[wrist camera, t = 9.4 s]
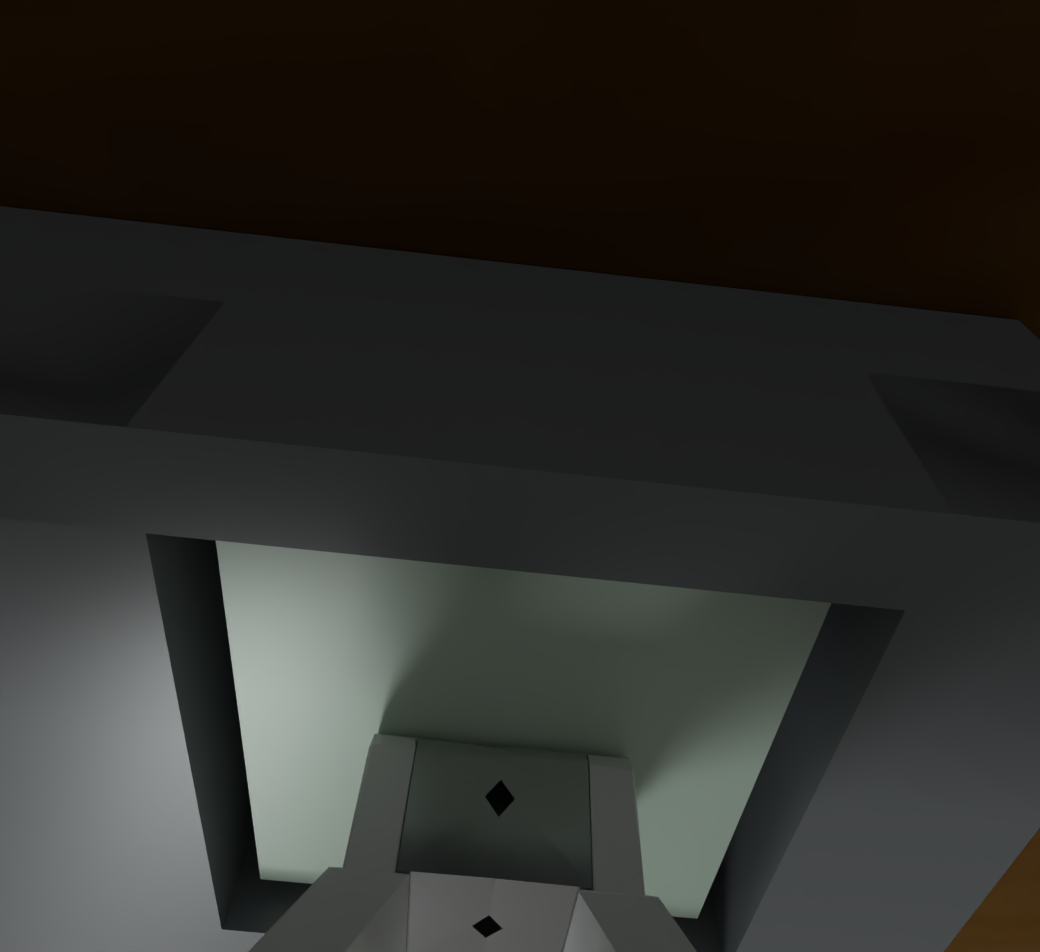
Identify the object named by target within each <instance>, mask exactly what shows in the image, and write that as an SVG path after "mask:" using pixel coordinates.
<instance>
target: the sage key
mask: <svg viewBox="0 0 1040 952" xmlns="http://www.w3.org/2000/svg"><path fill="white" fill-rule="evenodd" d="M216 547H217V555H218V562H219V570H220V577H221V585H222V592H223V600H224V608H225V615H226V623H227V630H228V638H229V645H230V653H231V660H232V668H233V676H234V683H235V691H236V698H237V706H238V713H239V721H240V728H241V736H242V744H243V751H244V759H245V766H246V774H247V781H248V789H249V796H250V804H251V812H252V819H253V827H254V834H255V842H256V849H257V857H258V864H259V872H260V879H264V880H275V881H286V882H298V883H309V884H313V883H314V882H315V881H316V880H317V879H318V878H319V877H320V876H321V875H322V873H323V872H324V871H325V870H326V869H327V868H328V867H343V862H344V858H345V853H346V849H347V844H348V840H349V835H350V831H351V826H352V822H353V817H354V813H355V808H356V804H357V799H358V795H359V790H360V786H361V781H362V777H363V772H364V768H365V763H366V759H367V754H368V749H369V746H370V743H371V741H372V739H373V736H374V734H385V735H394V736H404V737H414V738H418V739H419V738H422V739H430V740H438V741H447V742H455V743H463V744H471V745H480V746H488V747H496V748H502V746H503V747H516V748H528V749H541V750H553V751H565V752H578V753H585V755H598V756H610V757H622V758H629V759H630V761H631V763H632V765H633V768H634V779H635V790H636V801H637V811H638V822H639V833H640V844H641V855H642V866H643V877H644V888H645V895H649V896H656V897H659V898H660V900H661V901H662V903H663V904H664V906H665V907H666V908H667V910H668V911H669V913H670V914H671V916H674V917H685V918H696V919H697V918H698V916H699V914H700V911H701V909H702V907H703V904H704V902H705V900H706V897H707V895H708V892H709V890H710V888H711V885H712V883H713V881H714V878H715V876H716V874H717V871H718V869H719V867H720V864H721V862H722V860H723V857H724V855H725V852H726V850H727V848H728V845H729V843H730V841H731V838H732V836H733V834H734V831H735V829H736V827H737V824H738V822H739V819H740V817H741V815H742V812H743V810H744V808H745V805H746V803H747V801H748V798H749V796H750V794H751V791H752V789H753V787H754V784H755V782H756V779H757V777H758V775H759V772H760V770H761V768H762V765H763V763H764V761H765V758H766V756H767V754H768V751H769V749H770V747H771V744H772V742H773V739H774V737H775V735H776V732H777V730H778V728H779V725H780V723H781V721H782V718H783V716H784V714H785V711H786V709H787V706H788V704H789V702H790V699H791V697H792V695H793V692H794V690H795V688H796V685H797V683H798V681H799V678H800V676H801V674H802V671H803V669H804V666H805V664H806V662H807V659H808V657H809V655H810V652H811V650H812V648H813V645H814V643H815V641H816V638H817V636H818V634H819V631H820V629H821V626H822V624H823V622H824V619H825V617H826V615H827V612H828V610H829V608H830V605H831V603H827V602H817V601H807V600H797V599H787V598H778V597H768V596H758V595H748V594H738V593H728V592H718V591H709V590H699V589H689V588H679V587H669V586H659V585H649V584H640V583H630V582H620V581H610V580H600V579H590V578H580V577H571V576H561V575H551V574H541V573H531V572H521V571H511V570H502V569H492V568H482V567H472V566H462V565H452V564H442V563H433V562H423V561H413V560H403V559H393V558H383V557H373V556H364V555H354V554H344V553H334V552H324V551H314V550H304V549H295V548H285V547H275V546H265V545H255V544H245V543H235V542H226V541H216Z"/></svg>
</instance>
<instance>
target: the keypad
mask: <svg viewBox="0 0 1040 952" xmlns="http://www.w3.org/2000/svg"><path fill="white" fill-rule="evenodd" d="M216 541H226V542H235V543H245V544H255V545H265V546H275V547H285V548H295V549H304V550H314V551H324V552H334V553H344V554H354V555H364V556H373V557H383V558H393V559H403V560H413V561H423V562H433V563H442V564H452V565H462V566H472V567H482V568H492V569H502V570H511V571H521V572H531V573H541V574H551V575H561V576H571V577H580V578H590V579H600V580H610V581H620V582H630V583H640V584H649V585H659V586H669V587H679V588H689V589H699V590H709V591H718V592H728V593H738V594H748V595H758V596H768V597H778V598H787V599H797V600H807V601H817V602H827V603H831V605H830V608H829V610H828V612H827V615H826V617H825V619H824V622H823V624H822V626H821V629H820V631H819V634H818V636H817V638H816V641H815V643H814V645H813V648H812V650H811V652H810V655H809V657H808V659H807V662H806V664H805V666H804V669H803V671H802V674H801V676H800V678H799V681H798V683H797V685H796V688H795V690H794V692H793V695H792V697H791V699H790V702H789V704H788V706H787V709H786V711H785V714H784V716H783V718H782V721H781V723H780V725H779V728H778V730H777V732H776V735H775V737H774V739H773V742H772V744H771V747H770V749H769V751H768V754H767V756H766V758H765V761H764V763H763V765H762V768H761V770H760V772H759V775H758V777H757V779H756V782H755V784H754V787H753V789H752V791H751V794H750V796H749V798H748V801H747V803H746V805H745V808H744V810H743V812H742V815H741V817H740V819H739V822H738V824H737V827H736V829H735V831H734V834H733V836H732V838H731V841H730V843H729V845H728V848H727V850H726V852H725V855H724V857H723V860H722V862H721V864H720V867H719V869H718V871H717V874H716V876H715V878H714V881H713V883H712V885H711V888H710V890H709V892H708V895H707V897H706V900H705V902H704V904H703V907H702V909H701V911H700V914H699V916H698V918H697V919H696V918H685V917H674V916H672V917H673V918H674V920H675V921H676V923H677V924H678V926H679V927H680V928H681V930H682V931H683V933H684V934H685V936H686V937H687V938H688V940H689V941H690V943H691V944H692V946H693V947H694V948H695V950H696V951H697V952H944V950H945V949H946V948H947V946H948V945H949V944H950V943H951V941H952V940H953V939H954V937H955V936H956V935H957V934H958V932H959V931H960V930H961V928H962V927H963V926H964V925H965V923H966V922H967V921H968V919H969V918H970V917H971V916H972V914H973V913H974V912H975V910H976V909H977V908H978V906H979V905H980V904H981V903H982V901H983V900H984V899H985V897H986V896H987V895H988V894H989V892H990V891H991V890H992V888H993V887H994V886H995V885H996V883H997V882H998V881H999V879H1000V878H1001V877H1002V876H1003V874H1004V873H1005V872H1006V870H1007V869H1008V868H1009V866H1010V865H1011V864H1012V863H1013V861H1014V860H1015V859H1016V857H1017V856H1018V855H1019V854H1020V852H1021V851H1022V850H1023V848H1024V847H1025V846H1026V845H1027V843H1028V842H1029V841H1030V839H1031V838H1032V837H1033V836H1034V834H1035V833H1036V832H1037V830H1038V829H1039V828H1040V340H1039V339H1038V338H1037V337H1036V336H1035V335H1034V334H1033V333H1032V332H1031V331H1030V330H1029V329H1028V328H1027V327H1026V326H1025V325H1024V324H1022V323H1021V322H1020V321H1019V320H1014V319H1005V318H996V317H987V316H978V315H969V314H960V313H951V312H942V311H934V310H925V309H916V308H907V307H898V306H889V305H880V304H871V303H862V302H853V301H844V300H835V299H826V298H817V297H808V296H799V295H790V294H781V293H772V292H764V291H755V290H746V289H737V288H728V287H719V286H710V285H701V284H692V283H683V282H674V281H665V280H656V279H647V278H638V277H629V276H620V275H611V274H602V273H594V272H585V271H576V270H567V269H558V268H549V267H540V266H531V265H522V264H513V263H504V262H495V261H486V260H477V259H468V258H459V257H450V256H441V255H432V254H424V253H415V252H406V251H397V250H388V249H379V248H370V247H361V246H352V245H343V244H334V243H325V242H316V241H307V240H298V239H289V238H280V237H271V236H262V235H254V234H245V233H236V232H227V231H218V230H209V229H200V228H191V227H182V226H173V225H164V224H155V223H146V222H137V221H128V220H119V219H110V218H101V217H92V216H84V215H75V214H66V213H57V212H48V211H39V210H30V209H21V208H12V207H3V206H0V952H248V951H249V950H250V949H251V948H252V947H253V946H254V945H255V944H256V943H257V942H258V941H259V940H260V939H261V938H262V937H263V936H264V934H265V933H266V932H267V931H268V930H269V929H270V928H271V927H272V926H273V925H274V924H275V923H276V922H277V921H278V920H279V919H280V918H281V917H282V916H283V915H284V913H285V912H286V911H287V910H288V909H289V908H290V907H291V906H292V905H293V904H294V903H295V902H296V901H297V900H298V899H299V898H300V897H301V896H302V895H303V893H304V892H305V891H306V890H307V889H308V888H309V887H310V886H311V885H312V884H309V883H298V882H286V881H275V880H264V879H260V872H259V864H258V857H257V849H256V842H255V834H254V827H253V819H252V812H251V804H250V796H249V789H248V781H247V774H246V766H245V759H244V751H243V744H242V736H241V728H240V721H239V713H238V706H237V698H236V691H235V683H234V676H233V668H232V660H231V653H230V645H229V638H228V630H227V623H226V615H225V608H224V600H223V592H222V585H221V577H220V570H219V562H218V555H217V547H216Z"/></svg>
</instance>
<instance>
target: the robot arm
mask: <svg viewBox="0 0 1040 952" xmlns="http://www.w3.org/2000/svg"><path fill="white" fill-rule="evenodd" d="M248 952H697V951H696V950H695V948H694V947H693V946H692V944H691V943H690V941H689V940H688V938H687V937H686V936H685V934H684V933H683V931H682V930H681V928H680V927H679V926H678V924H677V923H676V921H675V920H674V918H673V917H672V916H671V914H670V913H669V911H668V910H667V908H666V907H665V906H664V904H663V903H662V901H661V900H660V898H659V897H656V896H649V895H645V888H644V877H643V866H642V855H641V844H640V833H639V822H638V811H637V801H636V790H635V779H634V768H633V765H632V763H631V761H630V759H629V758H622V757H610V756H598V755H585V753H578V752H565V751H553V750H541V749H528V748H516V747H503V746H502V748H496V747H488V746H480V745H471V744H463V743H455V742H447V741H438V740H430V739H422V738H419V739H418V738H414V737H404V736H394V735H385V734H374V736H373V739H372V741H371V743H370V746H369V749H368V754H367V759H366V763H365V768H364V772H363V777H362V781H361V786H360V790H359V795H358V799H357V804H356V808H355V813H354V817H353V822H352V826H351V831H350V835H349V840H348V844H347V849H346V853H345V858H344V862H343V867H328V868H327V869H326V870H325V871H324V872H323V873H322V875H321V876H320V877H319V878H318V879H317V880H316V881H315V882H314V883H313V884H312V885H311V886H310V887H309V888H308V889H307V890H306V891H305V892H304V893H303V895H302V896H301V897H300V898H299V899H298V900H297V901H296V902H295V903H294V904H293V905H292V906H291V907H290V908H289V909H288V910H287V911H286V912H285V913H284V915H283V916H282V917H281V918H280V919H279V920H278V921H277V922H276V923H275V924H274V925H273V926H272V927H271V928H270V929H269V930H268V931H267V932H266V933H265V934H264V936H263V937H262V938H261V939H260V940H259V941H258V942H257V943H256V944H255V945H254V946H253V947H252V948H251V949H250V950H249V951H248Z"/></svg>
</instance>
